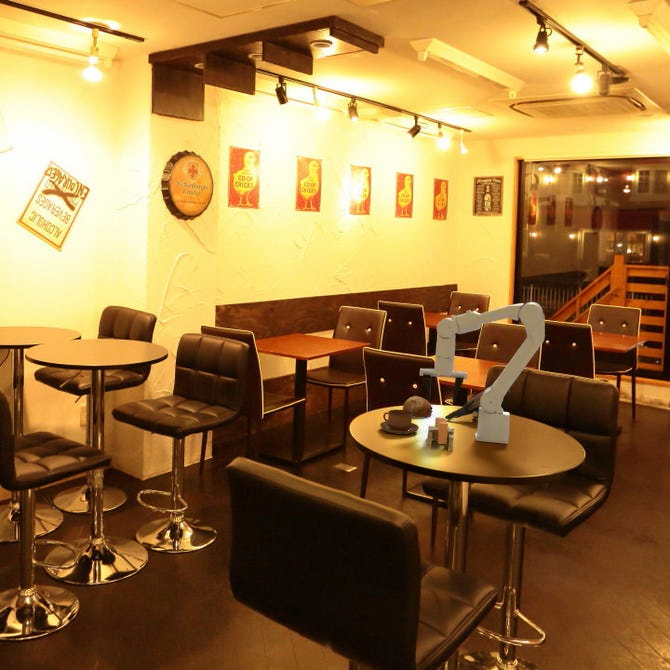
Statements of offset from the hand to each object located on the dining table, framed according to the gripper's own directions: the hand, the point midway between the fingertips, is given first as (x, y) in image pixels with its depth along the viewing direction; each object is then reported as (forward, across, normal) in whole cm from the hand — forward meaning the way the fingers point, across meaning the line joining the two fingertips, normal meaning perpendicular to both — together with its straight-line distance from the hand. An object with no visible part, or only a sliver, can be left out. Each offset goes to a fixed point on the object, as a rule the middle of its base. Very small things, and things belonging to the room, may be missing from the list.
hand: (441, 400), depth 224 cm
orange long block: (+9, -1, +14) cm, 17 cm away
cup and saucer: (+11, +12, +3) cm, 17 cm away
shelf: (+10, -1, +13) cm, 17 cm away
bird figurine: (+11, -12, -19) cm, 25 cm away
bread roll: (+11, +8, -22) cm, 26 cm away
